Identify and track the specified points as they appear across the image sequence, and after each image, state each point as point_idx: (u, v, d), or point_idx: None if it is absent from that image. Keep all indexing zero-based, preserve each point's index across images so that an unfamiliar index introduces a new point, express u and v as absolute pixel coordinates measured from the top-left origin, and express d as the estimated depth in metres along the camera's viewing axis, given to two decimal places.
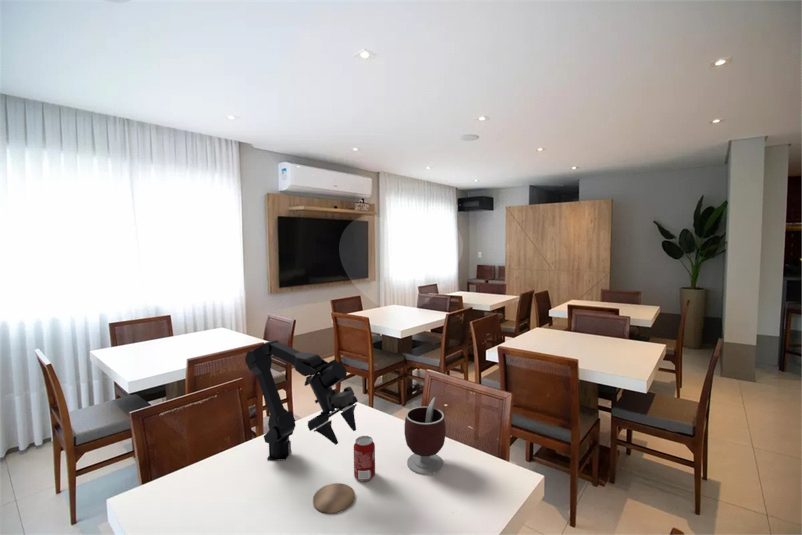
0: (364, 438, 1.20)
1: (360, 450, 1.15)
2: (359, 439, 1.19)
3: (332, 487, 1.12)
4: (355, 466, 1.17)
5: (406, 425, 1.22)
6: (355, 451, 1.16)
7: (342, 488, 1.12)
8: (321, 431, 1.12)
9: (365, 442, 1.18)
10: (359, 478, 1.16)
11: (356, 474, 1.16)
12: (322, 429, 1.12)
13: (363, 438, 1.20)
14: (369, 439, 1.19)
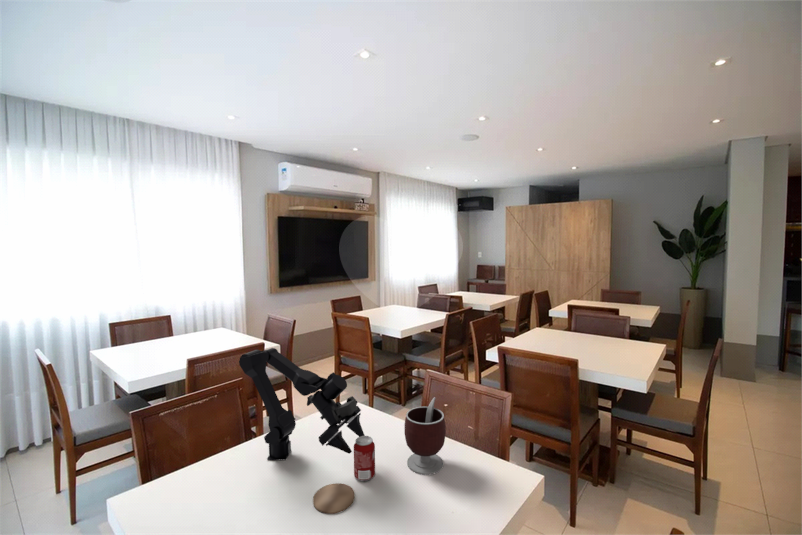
0: (364, 438, 1.20)
1: (360, 450, 1.15)
2: (359, 439, 1.19)
3: (332, 487, 1.12)
4: (355, 466, 1.17)
5: (406, 425, 1.22)
6: (355, 451, 1.16)
7: (342, 488, 1.12)
8: (333, 444, 1.15)
9: (365, 442, 1.18)
10: (359, 478, 1.16)
11: (356, 474, 1.16)
12: (334, 441, 1.15)
13: (363, 438, 1.20)
14: (369, 439, 1.19)
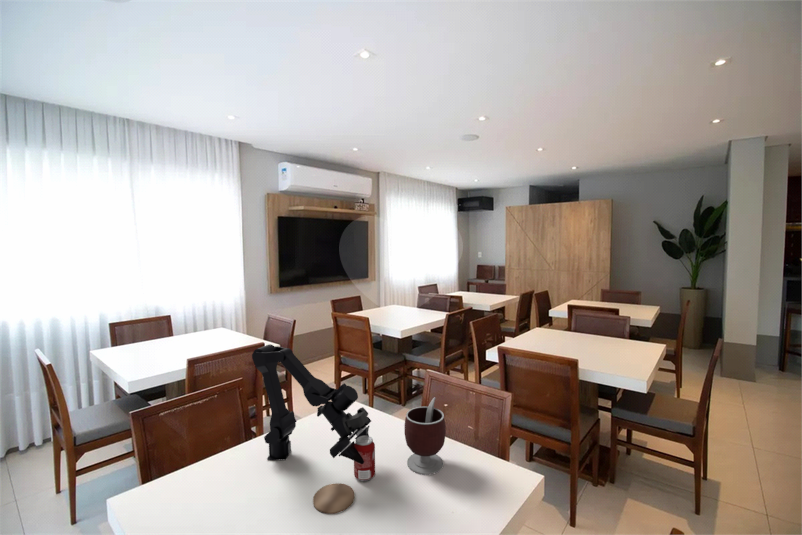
0: (364, 438, 1.20)
1: (360, 450, 1.15)
2: (359, 439, 1.19)
3: (332, 487, 1.12)
4: (355, 466, 1.17)
5: (406, 425, 1.22)
6: None
7: (342, 488, 1.12)
8: (346, 454, 1.15)
9: (365, 442, 1.18)
10: (359, 478, 1.16)
11: (356, 474, 1.16)
12: (346, 452, 1.15)
13: (363, 438, 1.20)
14: (369, 439, 1.19)
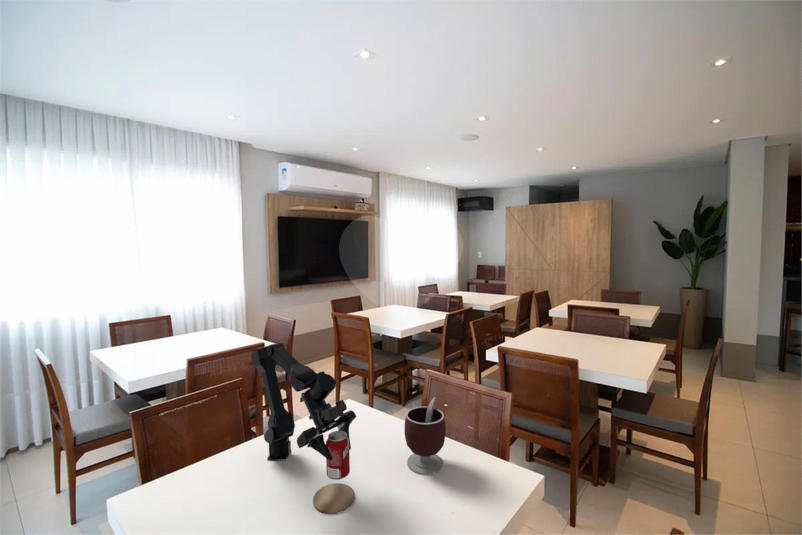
0: (340, 433, 1.10)
1: (329, 445, 1.06)
2: (334, 433, 1.10)
3: (332, 487, 1.12)
4: (326, 461, 1.08)
5: (406, 425, 1.22)
6: (326, 445, 1.07)
7: (342, 488, 1.12)
8: (315, 447, 1.07)
9: (338, 438, 1.08)
10: (328, 475, 1.07)
11: (327, 470, 1.07)
12: (316, 444, 1.07)
13: (339, 433, 1.10)
14: (344, 435, 1.09)
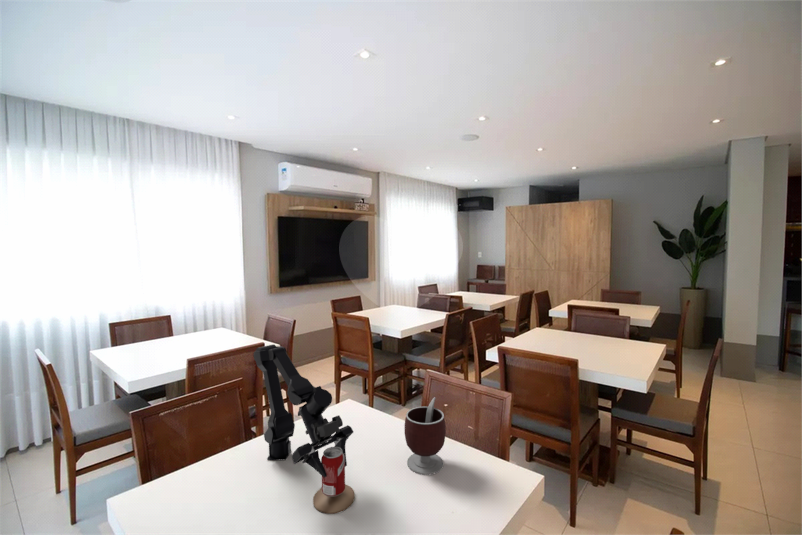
0: (336, 449, 1.09)
1: (324, 462, 1.05)
2: (330, 449, 1.09)
3: None
4: None
5: (406, 425, 1.22)
6: (321, 462, 1.07)
7: None
8: (310, 463, 1.06)
9: (333, 454, 1.07)
10: (323, 492, 1.06)
11: (322, 486, 1.07)
12: (311, 460, 1.07)
13: (335, 449, 1.09)
14: (339, 452, 1.08)
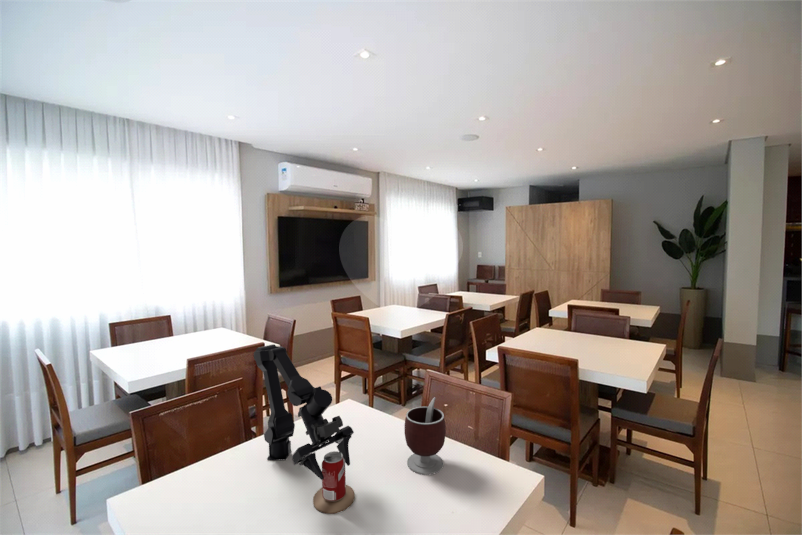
0: (336, 454, 1.09)
1: (324, 467, 1.05)
2: (330, 454, 1.09)
3: None
4: (322, 483, 1.07)
5: (406, 425, 1.22)
6: None
7: None
8: (307, 465, 1.06)
9: (333, 459, 1.07)
10: (324, 497, 1.06)
11: (322, 491, 1.07)
12: (308, 462, 1.06)
13: (335, 454, 1.10)
14: (340, 457, 1.08)
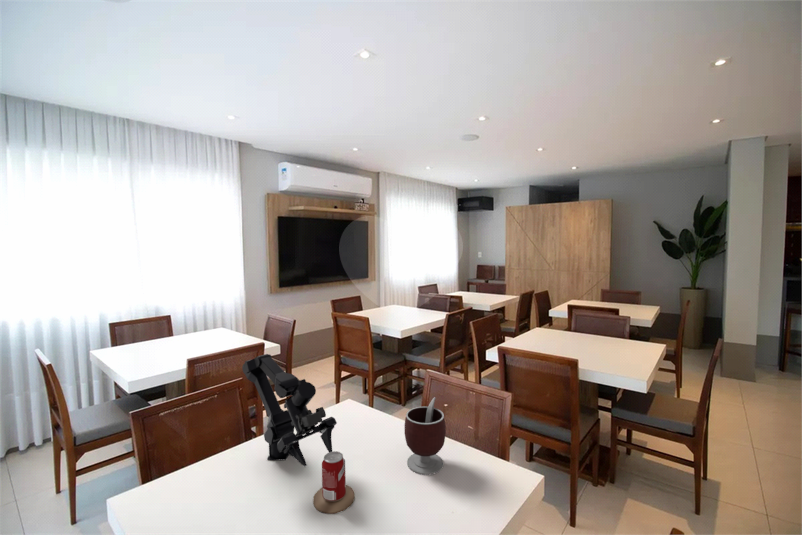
0: (336, 454, 1.09)
1: (324, 467, 1.05)
2: (330, 454, 1.09)
3: None
4: (322, 483, 1.07)
5: (406, 425, 1.22)
6: None
7: None
8: (291, 453, 1.12)
9: (333, 459, 1.07)
10: (324, 497, 1.06)
11: (322, 491, 1.07)
12: (292, 451, 1.12)
13: (335, 454, 1.10)
14: (340, 457, 1.08)
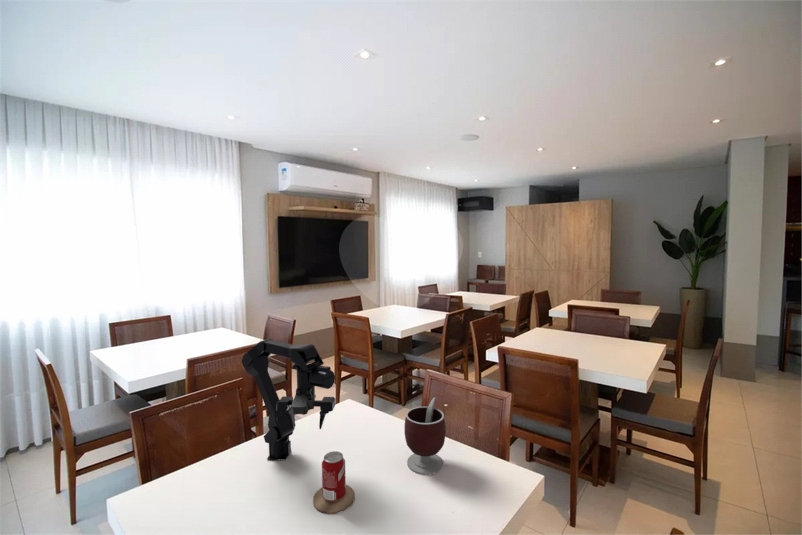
0: (336, 454, 1.09)
1: (324, 467, 1.05)
2: (330, 454, 1.09)
3: None
4: (322, 483, 1.07)
5: (406, 425, 1.22)
6: None
7: None
8: None
9: (333, 459, 1.07)
10: (324, 497, 1.06)
11: (322, 491, 1.07)
12: None
13: (335, 454, 1.10)
14: (340, 457, 1.08)
